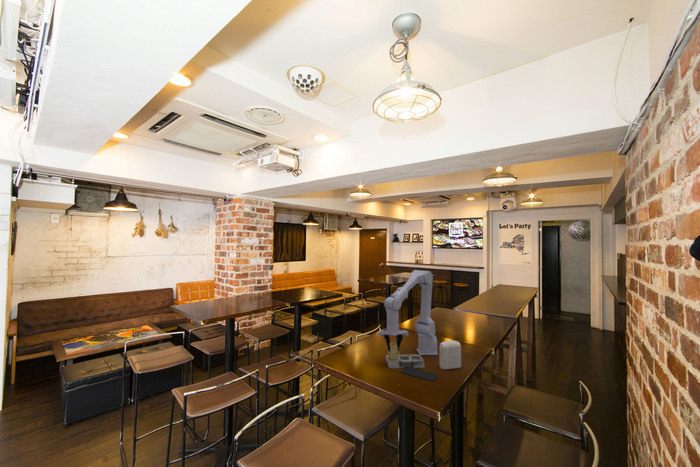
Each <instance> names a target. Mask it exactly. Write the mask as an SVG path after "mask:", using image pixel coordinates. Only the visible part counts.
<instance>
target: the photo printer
mask: <svg viewBox="0 0 700 467" xmlns="http://www.w3.org/2000/svg"><path fill="white" fill-rule="evenodd" d="M438 351H439V368H440V369H441V370H451V369H459V368H460V369H461V368H462V345H461V343H460V342H459V341H458V340H444V341H443V342H440V343H439V350H438Z"/></svg>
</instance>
